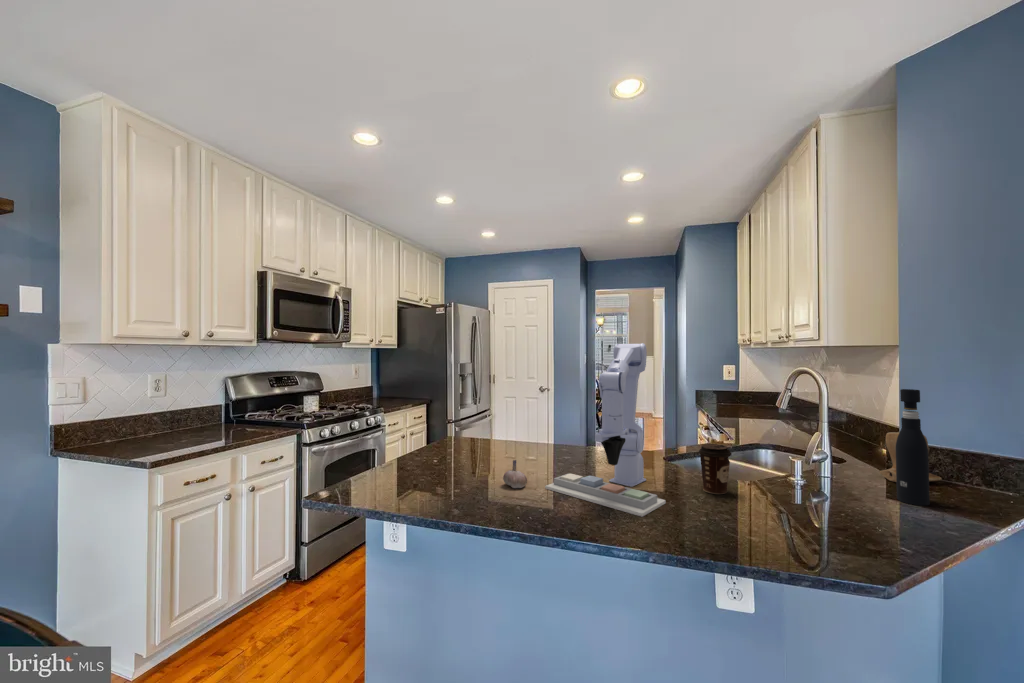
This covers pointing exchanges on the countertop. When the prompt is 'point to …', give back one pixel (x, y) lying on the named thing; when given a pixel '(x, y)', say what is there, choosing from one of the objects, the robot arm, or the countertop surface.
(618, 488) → the terracotta key
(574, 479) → the cream key
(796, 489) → the countertop surface
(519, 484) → the garlic bulb
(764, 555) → the countertop surface
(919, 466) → the black water bottle
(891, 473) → the wooden stand
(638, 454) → the robot arm
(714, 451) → the coffee cup
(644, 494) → the sage key
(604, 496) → the keypad
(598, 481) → the slate key
